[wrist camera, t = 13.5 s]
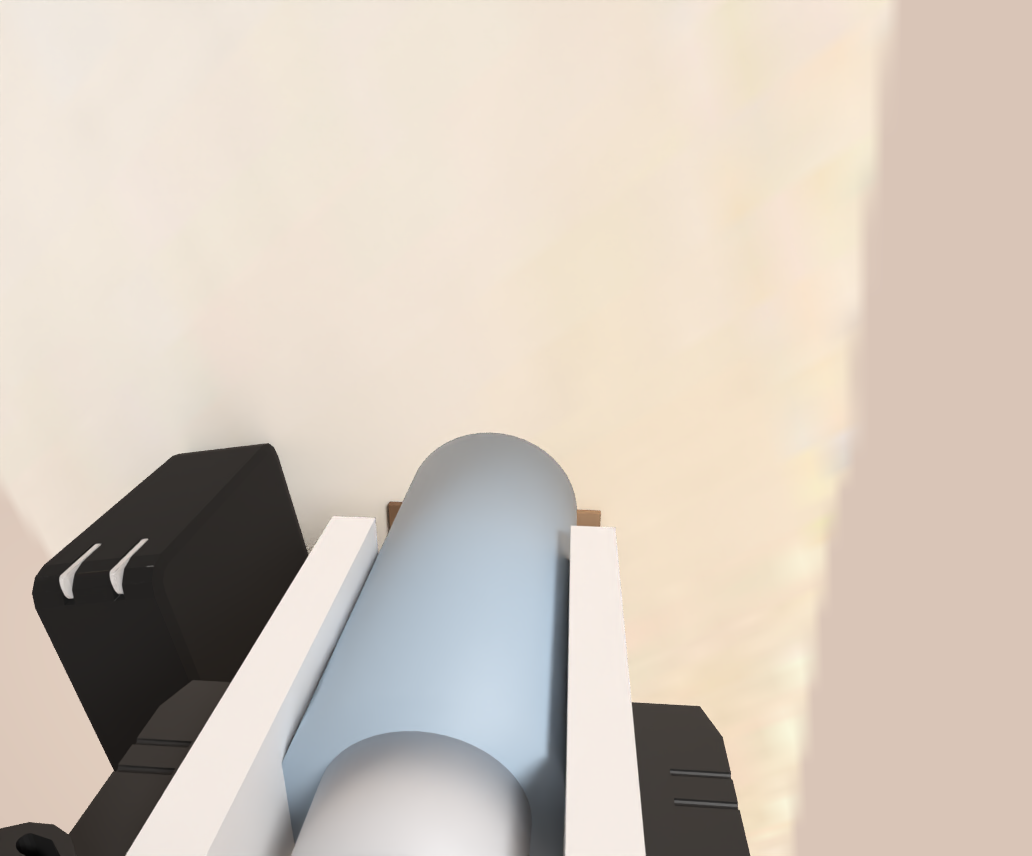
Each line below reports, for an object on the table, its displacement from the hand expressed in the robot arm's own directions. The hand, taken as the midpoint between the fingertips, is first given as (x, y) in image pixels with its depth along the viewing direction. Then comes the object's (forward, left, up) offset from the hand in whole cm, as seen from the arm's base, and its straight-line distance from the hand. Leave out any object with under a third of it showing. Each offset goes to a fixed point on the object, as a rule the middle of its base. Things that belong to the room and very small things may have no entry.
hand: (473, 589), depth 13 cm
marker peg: (0, 0, -3) cm, 3 cm away
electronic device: (+10, -12, -17) cm, 23 cm away
